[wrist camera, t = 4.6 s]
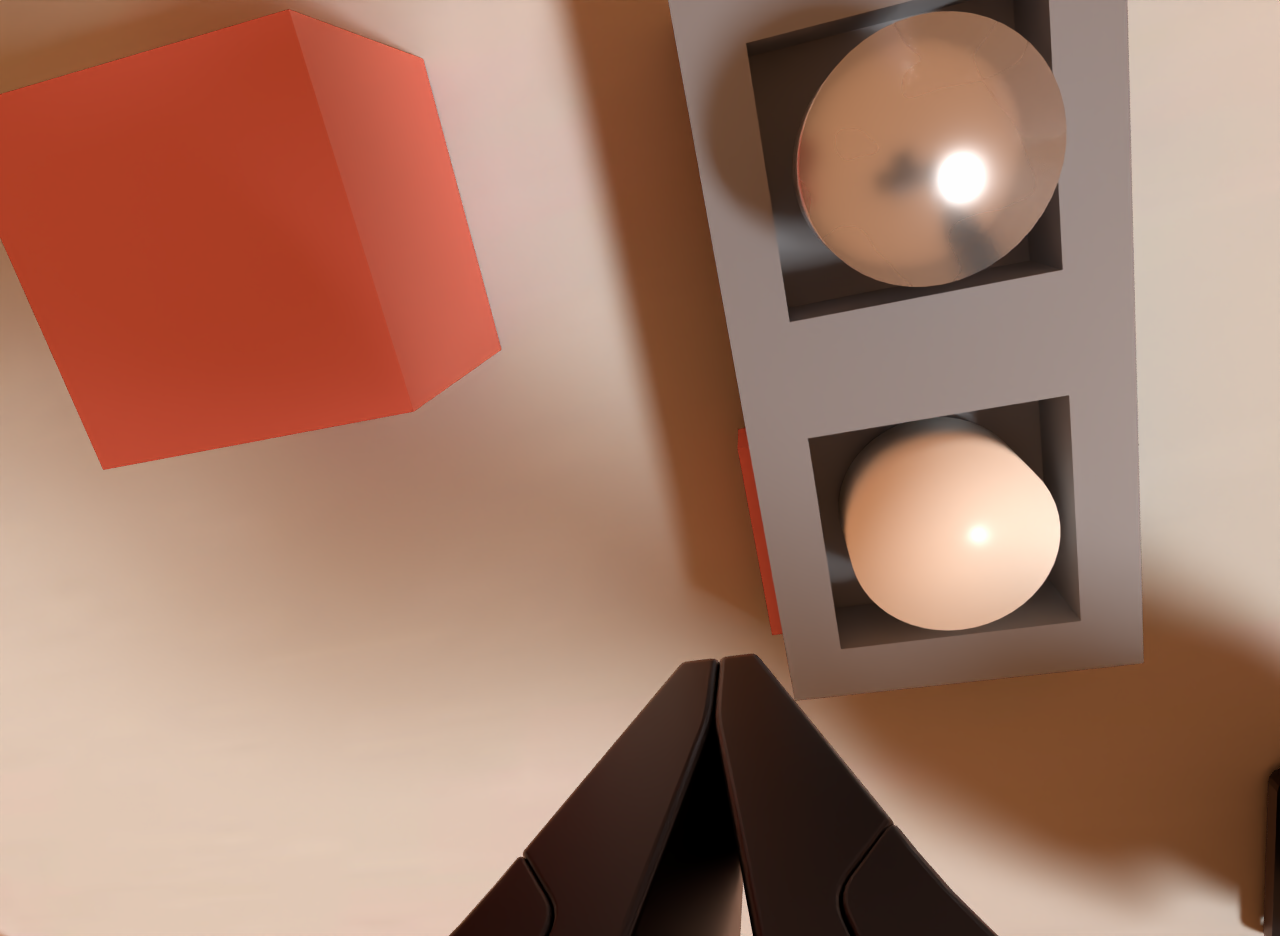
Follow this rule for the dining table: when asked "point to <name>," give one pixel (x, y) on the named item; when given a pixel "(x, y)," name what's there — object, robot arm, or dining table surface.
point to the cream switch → (947, 524)
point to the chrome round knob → (930, 149)
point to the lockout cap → (241, 238)
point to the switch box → (923, 345)
